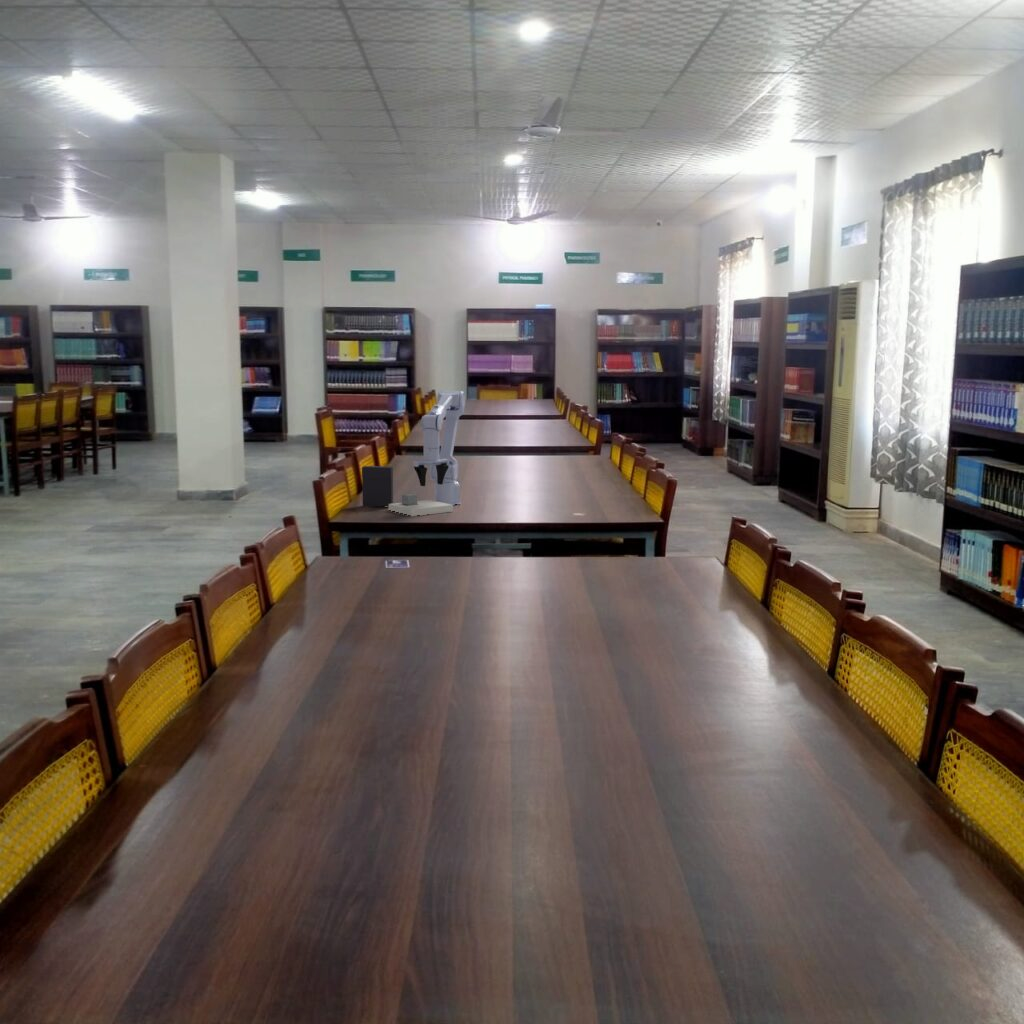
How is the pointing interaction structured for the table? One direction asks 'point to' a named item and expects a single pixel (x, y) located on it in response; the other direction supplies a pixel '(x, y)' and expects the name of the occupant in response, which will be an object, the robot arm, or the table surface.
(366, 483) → the dark grey rectangular block
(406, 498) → the pin
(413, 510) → the slot board
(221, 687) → the table surface
